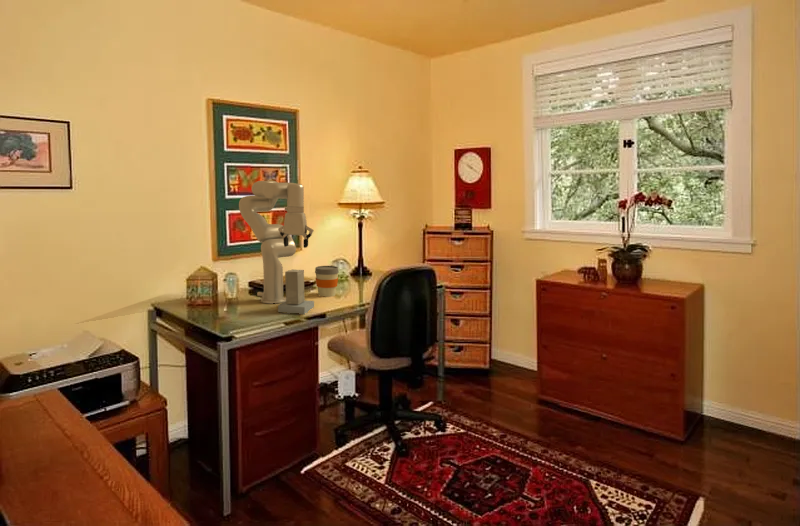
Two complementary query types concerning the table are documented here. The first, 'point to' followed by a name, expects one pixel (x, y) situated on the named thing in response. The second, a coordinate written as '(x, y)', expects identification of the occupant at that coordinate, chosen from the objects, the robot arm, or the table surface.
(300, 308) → the slate block
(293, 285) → the skincare box
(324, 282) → the reusable coffee cup
